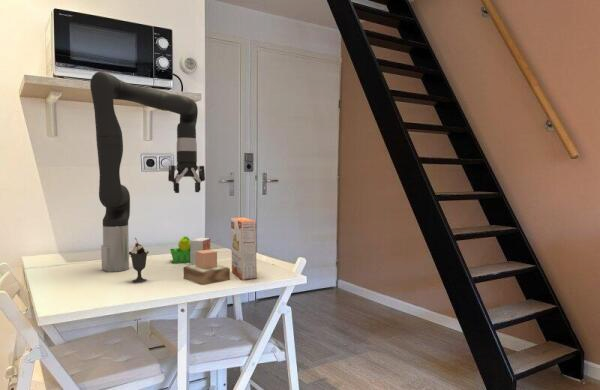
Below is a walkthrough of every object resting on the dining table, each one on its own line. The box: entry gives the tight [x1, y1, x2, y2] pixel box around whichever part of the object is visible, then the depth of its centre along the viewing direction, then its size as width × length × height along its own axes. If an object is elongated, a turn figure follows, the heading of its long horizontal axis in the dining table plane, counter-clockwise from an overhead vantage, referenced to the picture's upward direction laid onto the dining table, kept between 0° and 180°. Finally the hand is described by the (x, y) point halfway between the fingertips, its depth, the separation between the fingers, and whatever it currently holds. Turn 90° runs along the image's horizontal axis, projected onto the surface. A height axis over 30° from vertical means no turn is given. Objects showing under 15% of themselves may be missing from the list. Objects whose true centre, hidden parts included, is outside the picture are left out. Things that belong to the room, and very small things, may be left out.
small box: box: [189, 237, 211, 265], centre depth 182 cm, size 8×6×10 cm
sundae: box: [129, 237, 150, 284], centre depth 154 cm, size 7×7×15 cm
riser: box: [183, 264, 231, 286], centre depth 158 cm, size 11×13×4 cm
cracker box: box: [230, 216, 258, 281], centre depth 162 cm, size 14×6×21 cm, turn 23°
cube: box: [195, 249, 218, 269], centre depth 157 cm, size 6×6×6 cm
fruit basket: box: [169, 235, 191, 264], centre depth 188 cm, size 11×9×11 cm
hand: (187, 192), depth 170 cm, fingers open, 8 cm apart
